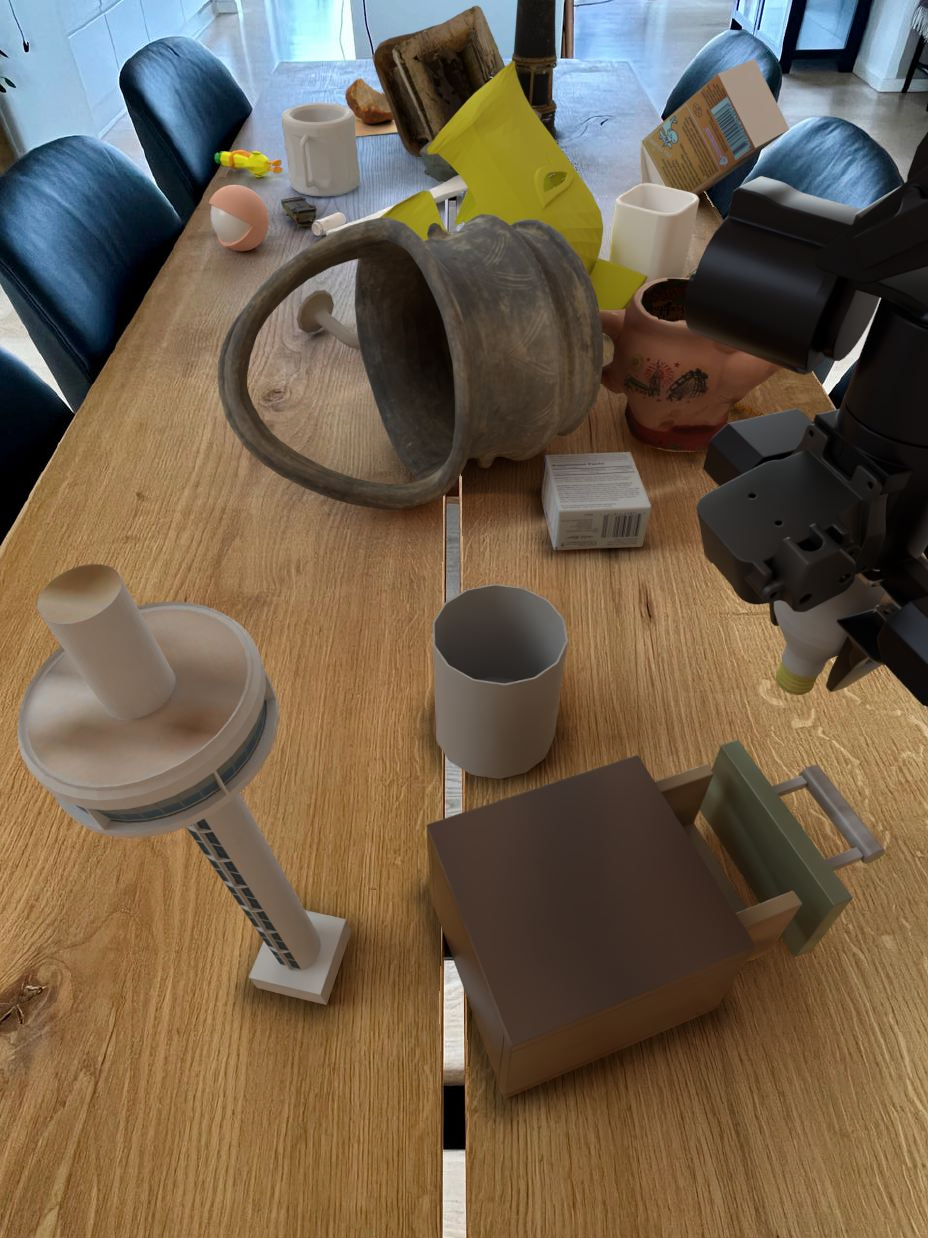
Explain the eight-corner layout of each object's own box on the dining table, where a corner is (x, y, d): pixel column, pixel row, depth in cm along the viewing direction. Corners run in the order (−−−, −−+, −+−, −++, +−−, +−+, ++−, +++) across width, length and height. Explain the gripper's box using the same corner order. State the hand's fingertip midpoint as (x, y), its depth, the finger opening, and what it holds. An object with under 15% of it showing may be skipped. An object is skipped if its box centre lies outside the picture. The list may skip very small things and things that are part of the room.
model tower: (207, 1018, 46) (-129, 681, 23) (266, 876, 51) (39, 492, 29) (349, 1055, 44) (133, 727, 21) (396, 903, 49) (260, 515, 27)
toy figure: (293, 175, 133) (237, 165, 138) (291, 150, 131) (234, 141, 136) (265, 182, 129) (208, 172, 133) (262, 156, 127) (204, 146, 131)
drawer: (776, 777, 55) (808, 715, 50) (883, 921, 48) (931, 866, 43) (549, 857, 51) (559, 798, 46) (631, 1027, 44) (653, 979, 39)
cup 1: (489, 801, 55) (494, 708, 47) (411, 723, 59) (404, 627, 52) (578, 731, 58) (595, 635, 51) (498, 663, 63) (503, 566, 55)
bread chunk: (416, 130, 147) (381, 72, 139) (365, 170, 150) (328, 115, 142) (400, 103, 157) (367, 48, 149) (352, 142, 159) (317, 89, 152)
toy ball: (203, 247, 114) (190, 185, 108) (251, 231, 117) (240, 171, 112) (236, 265, 110) (224, 202, 104) (284, 248, 113) (275, 187, 108)
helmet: (521, 106, 97) (660, 317, 94) (356, 225, 100) (485, 432, 98) (505, 7, 81) (670, 257, 79) (310, 152, 85) (462, 396, 82)
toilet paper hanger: (344, 379, 93) (346, 339, 89) (296, 339, 96) (296, 298, 92) (495, 306, 106) (503, 267, 102) (449, 272, 109) (455, 233, 104)
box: (644, 549, 71) (624, 491, 77) (652, 506, 68) (631, 449, 74) (552, 553, 71) (539, 493, 77) (556, 510, 68) (543, 452, 74)
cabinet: (617, 831, 53) (638, 754, 47) (716, 1009, 46) (757, 946, 39) (430, 897, 50) (425, 824, 44) (504, 1100, 43) (511, 1047, 36)
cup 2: (678, 328, 98) (705, 195, 87) (649, 354, 94) (673, 217, 83) (623, 311, 101) (642, 180, 90) (593, 335, 97) (609, 200, 86)
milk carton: (789, 129, 118) (687, 205, 134) (754, 57, 116) (654, 143, 131) (755, 147, 112) (652, 225, 128) (717, 73, 110) (618, 161, 126)
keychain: (766, 418, 85) (767, 409, 84) (760, 423, 84) (761, 414, 83) (701, 393, 89) (702, 384, 88) (695, 397, 89) (696, 389, 88)
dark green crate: (277, 198, 121) (280, 216, 122) (292, 210, 115) (295, 229, 117) (302, 194, 122) (304, 213, 124) (318, 206, 116) (321, 225, 118)
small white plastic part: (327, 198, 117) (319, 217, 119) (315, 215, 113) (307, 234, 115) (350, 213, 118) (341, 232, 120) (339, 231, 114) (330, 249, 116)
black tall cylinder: (550, 125, 150) (566, -93, 128) (560, 141, 144) (579, -85, 122) (501, 126, 149) (508, -93, 128) (509, 143, 143) (518, -84, 121)
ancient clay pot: (621, 205, 62) (225, 281, 51) (612, 489, 75) (297, 594, 65) (478, 179, 78) (156, 232, 68) (492, 415, 92) (225, 490, 81)
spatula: (320, 230, 114) (325, 248, 116) (339, 230, 112) (344, 249, 113) (458, 170, 128) (462, 187, 129) (478, 169, 125) (481, 187, 127)
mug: (303, 170, 133) (294, 98, 126) (368, 175, 132) (363, 103, 125) (274, 201, 124) (262, 126, 117) (343, 207, 123) (336, 132, 116)
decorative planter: (558, 462, 80) (572, 325, 70) (554, 393, 88) (567, 262, 78) (768, 469, 79) (814, 331, 69) (745, 399, 88) (782, 267, 77)
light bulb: (724, 668, 50) (768, 541, 42) (799, 642, 51) (854, 515, 44) (781, 738, 46) (839, 613, 39) (860, 708, 48) (930, 582, 40)
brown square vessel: (367, 110, 125) (331, 141, 143) (499, 185, 137) (451, 205, 154) (413, -41, 122) (371, 9, 140) (544, 48, 134) (490, 84, 151)
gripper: (640, 339, 39) (601, 579, 51) (910, 603, 27) (780, 841, 39) (837, 303, 42) (758, 538, 53) (1164, 528, 30) (973, 772, 41)
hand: (806, 654), depth 46 cm, fingers closed on light bulb, 5 cm apart
